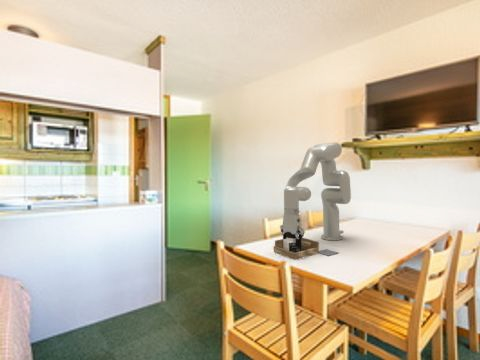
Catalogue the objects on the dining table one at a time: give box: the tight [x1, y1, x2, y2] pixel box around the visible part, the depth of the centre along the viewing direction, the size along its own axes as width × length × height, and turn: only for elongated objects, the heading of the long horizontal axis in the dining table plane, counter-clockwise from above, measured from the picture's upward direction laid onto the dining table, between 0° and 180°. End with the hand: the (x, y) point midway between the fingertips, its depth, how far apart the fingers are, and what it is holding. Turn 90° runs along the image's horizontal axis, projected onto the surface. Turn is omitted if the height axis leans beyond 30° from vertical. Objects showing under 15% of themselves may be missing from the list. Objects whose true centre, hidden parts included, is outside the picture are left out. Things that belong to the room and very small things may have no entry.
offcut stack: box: [301, 240, 312, 251], centre depth 144 cm, size 4×9×5 cm, turn 32°
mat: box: [318, 248, 340, 257], centre depth 139 cm, size 8×8×1 cm
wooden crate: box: [273, 237, 320, 261], centre depth 140 cm, size 17×16×6 cm
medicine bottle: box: [282, 232, 302, 253], centre depth 139 cm, size 7×7×12 cm
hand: (291, 244), depth 139 cm, fingers open, 9 cm apart
